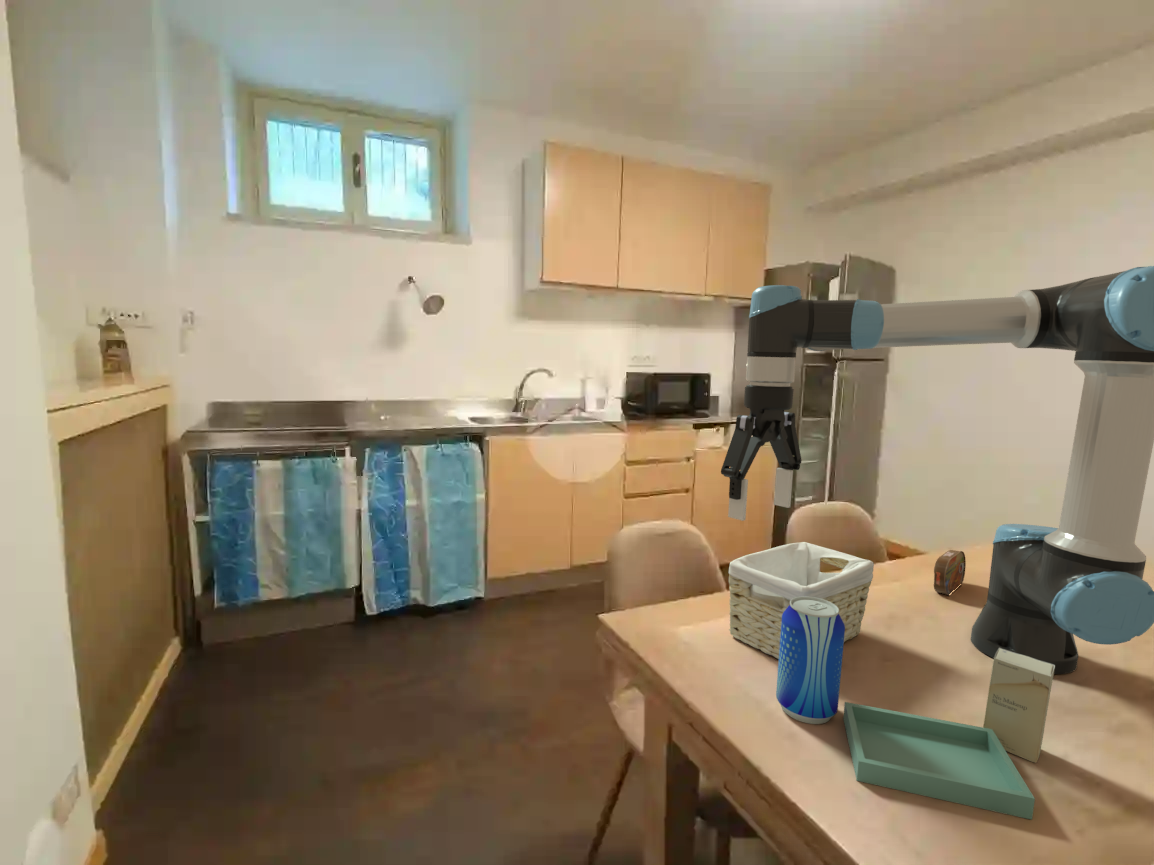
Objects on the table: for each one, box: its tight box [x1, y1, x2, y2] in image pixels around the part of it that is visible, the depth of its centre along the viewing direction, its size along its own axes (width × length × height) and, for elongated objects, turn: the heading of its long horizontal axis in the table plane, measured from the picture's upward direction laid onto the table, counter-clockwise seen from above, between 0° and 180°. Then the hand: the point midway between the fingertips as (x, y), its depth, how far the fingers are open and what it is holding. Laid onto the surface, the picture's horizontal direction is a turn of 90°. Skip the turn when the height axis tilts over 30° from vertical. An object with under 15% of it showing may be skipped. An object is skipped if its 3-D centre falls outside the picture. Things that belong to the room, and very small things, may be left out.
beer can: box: [775, 596, 845, 725], centre depth 84 cm, size 8×8×16 cm
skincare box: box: [982, 648, 1055, 764], centre depth 77 cm, size 6×4×12 cm
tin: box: [933, 549, 967, 596], centre depth 132 cm, size 15×3×8 cm, turn 132°
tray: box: [842, 701, 1036, 821], centre depth 74 cm, size 18×13×3 cm
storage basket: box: [728, 541, 875, 660], centre depth 107 cm, size 24×16×15 cm
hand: (760, 512), depth 97 cm, fingers open, 13 cm apart
